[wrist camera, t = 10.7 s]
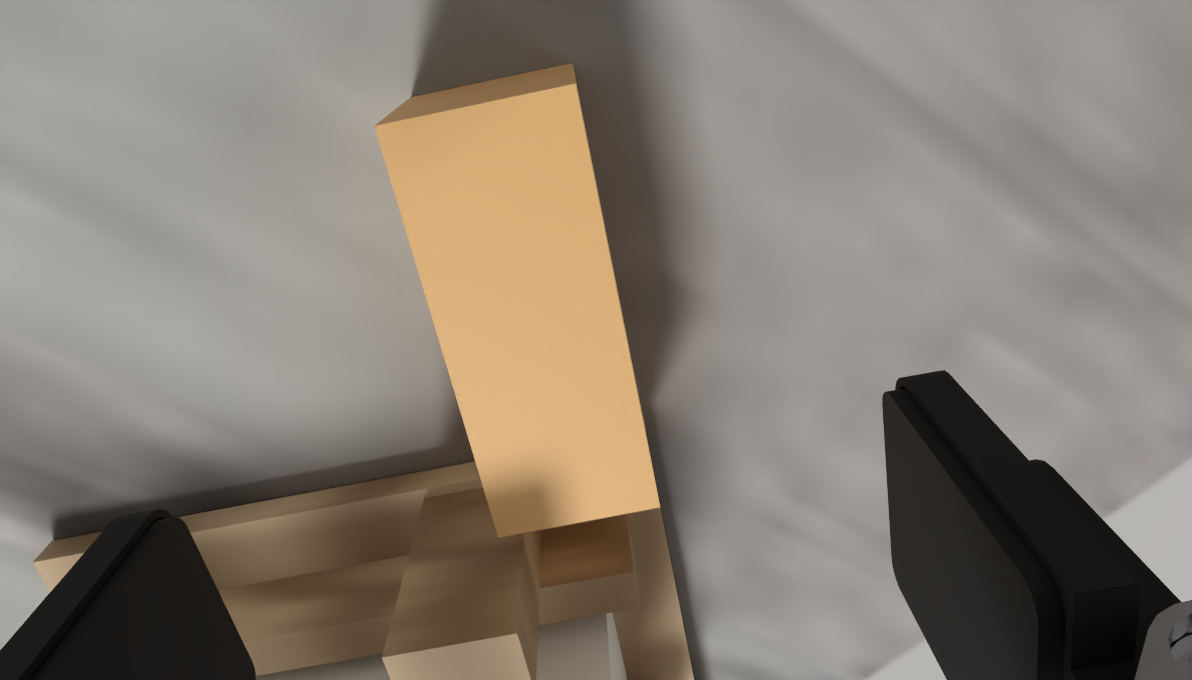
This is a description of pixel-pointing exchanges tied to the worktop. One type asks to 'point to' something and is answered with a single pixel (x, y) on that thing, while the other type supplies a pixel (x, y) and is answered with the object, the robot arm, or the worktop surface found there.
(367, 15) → the worktop surface
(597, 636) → the white rectangular block
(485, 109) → the light orange rectangular block
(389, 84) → the worktop surface
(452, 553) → the cradle
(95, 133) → the worktop surface
